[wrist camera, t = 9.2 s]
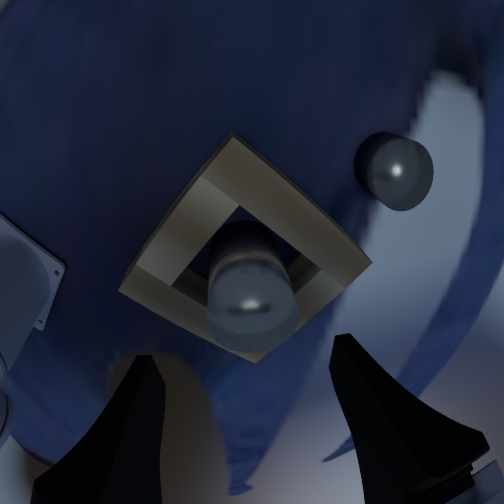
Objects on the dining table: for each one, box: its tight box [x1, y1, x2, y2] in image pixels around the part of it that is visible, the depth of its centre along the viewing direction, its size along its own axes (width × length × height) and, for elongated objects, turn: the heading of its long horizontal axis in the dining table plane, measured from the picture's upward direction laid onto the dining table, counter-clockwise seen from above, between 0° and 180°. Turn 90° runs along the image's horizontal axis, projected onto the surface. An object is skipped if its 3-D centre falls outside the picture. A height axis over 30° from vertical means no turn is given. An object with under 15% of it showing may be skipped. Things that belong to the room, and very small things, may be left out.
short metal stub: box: [354, 132, 434, 211], centre depth 16 cm, size 4×4×3 cm
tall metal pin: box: [207, 220, 300, 353], centre depth 16 cm, size 4×4×7 cm
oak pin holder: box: [118, 131, 372, 363], centre depth 18 cm, size 12×12×3 cm
